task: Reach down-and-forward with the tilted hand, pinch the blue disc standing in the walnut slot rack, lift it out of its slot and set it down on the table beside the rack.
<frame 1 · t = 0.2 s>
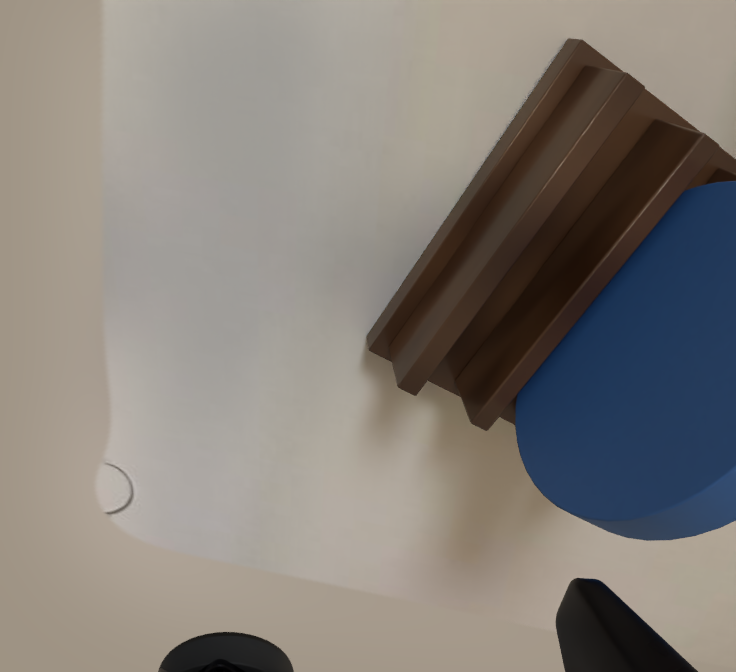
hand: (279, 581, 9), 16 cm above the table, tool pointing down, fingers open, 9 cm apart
rack: (573, 274, 25), on the table
disc: (585, 285, 24), point 1 cm above the table, touching rack
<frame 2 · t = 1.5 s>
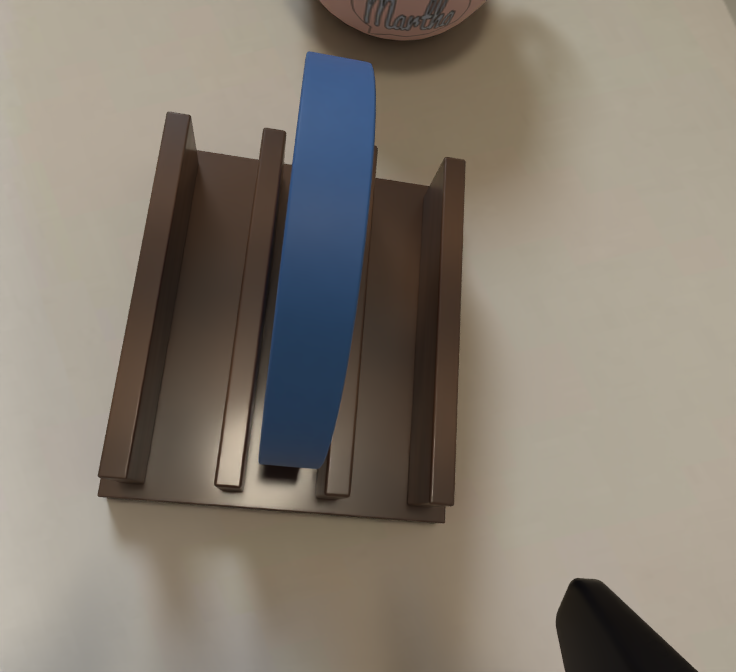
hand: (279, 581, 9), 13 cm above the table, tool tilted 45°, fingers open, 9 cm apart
rack: (296, 334, 24), on the table
disc: (298, 325, 23), point 1 cm above the table, touching rack
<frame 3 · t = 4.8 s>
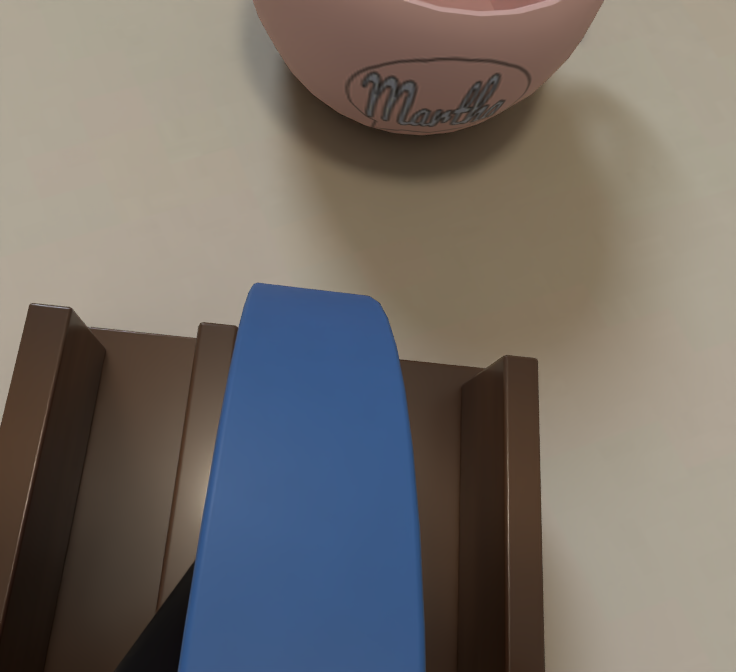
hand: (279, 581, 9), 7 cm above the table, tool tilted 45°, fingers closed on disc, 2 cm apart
mug: (423, 46, 21), on the table
rack: (263, 622, 15), on the table
disc: (264, 629, 14), point 1 cm above the table, touching gripper, rack
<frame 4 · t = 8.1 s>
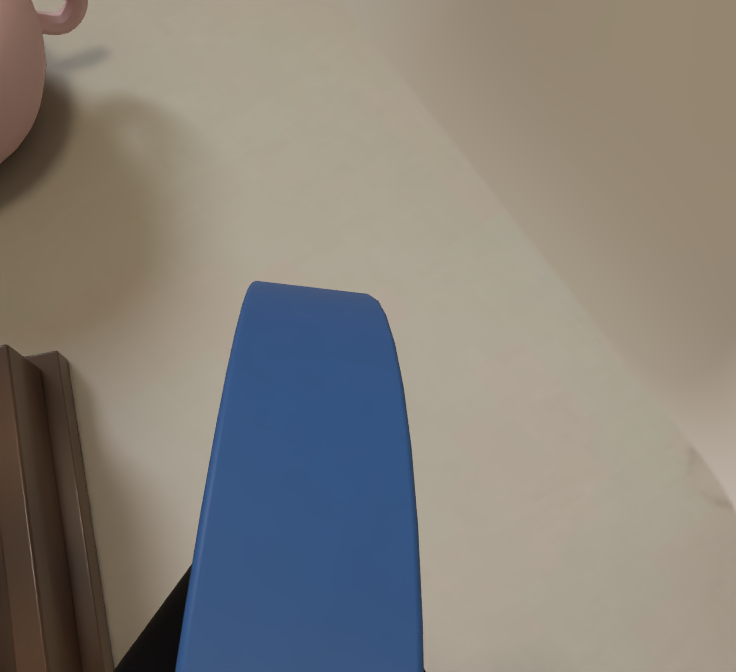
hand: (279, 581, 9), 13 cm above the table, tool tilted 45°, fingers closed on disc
disc: (263, 628, 14), point 8 cm above the table, touching gripper
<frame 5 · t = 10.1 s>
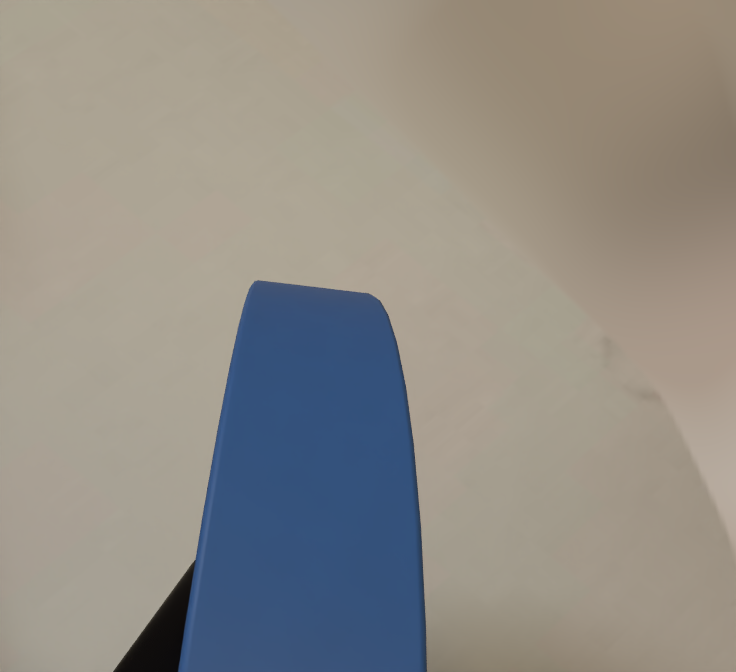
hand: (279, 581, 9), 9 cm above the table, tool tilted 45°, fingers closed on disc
disc: (264, 628, 14), point 4 cm above the table, touching gripper
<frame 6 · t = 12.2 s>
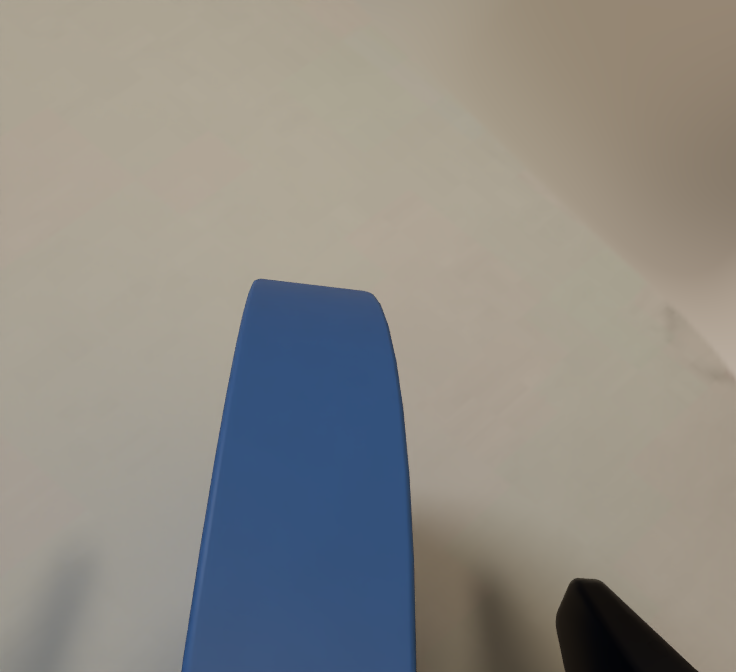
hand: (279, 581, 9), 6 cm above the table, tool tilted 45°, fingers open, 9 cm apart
disc: (263, 631, 14), on the table
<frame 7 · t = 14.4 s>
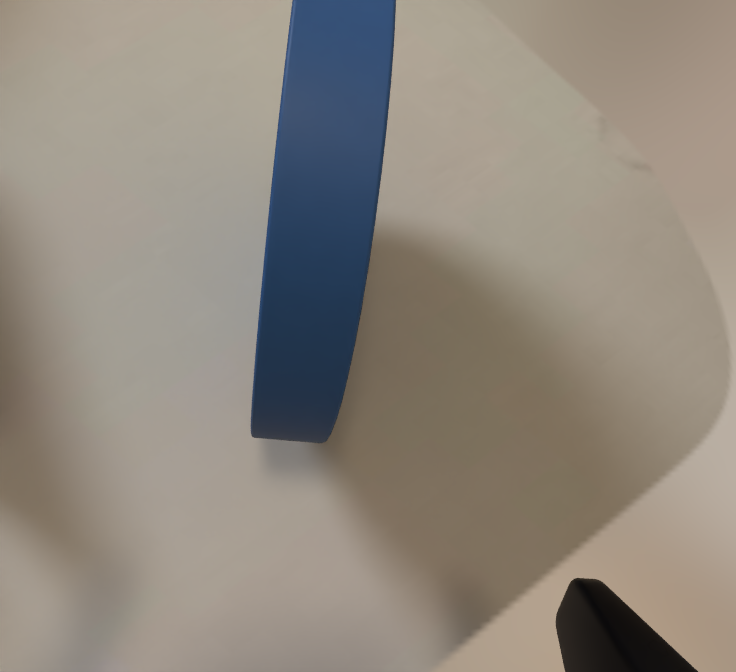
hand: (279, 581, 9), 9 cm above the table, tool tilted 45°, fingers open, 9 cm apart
disc: (295, 307, 20), on the table, tilted 7°
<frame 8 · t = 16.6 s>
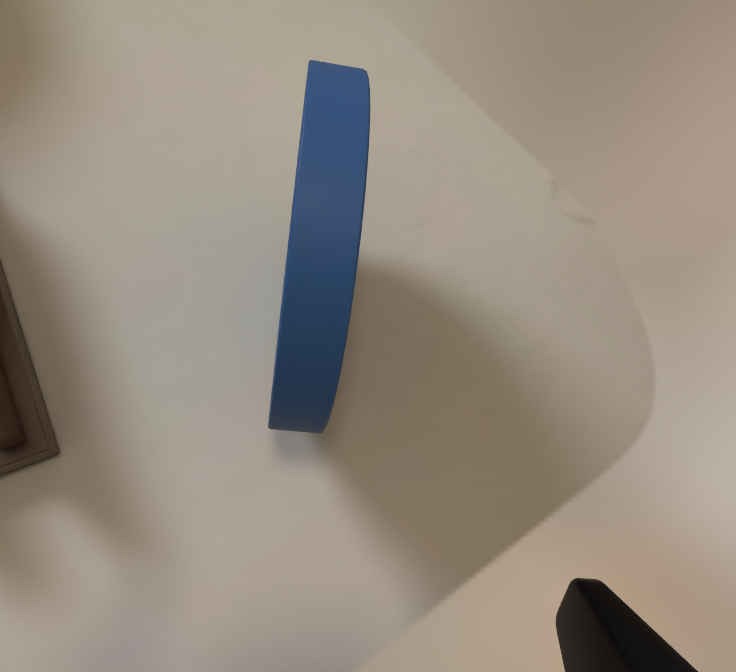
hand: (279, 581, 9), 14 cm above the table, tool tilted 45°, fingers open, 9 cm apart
disc: (298, 340, 24), on the table, tilted 13°
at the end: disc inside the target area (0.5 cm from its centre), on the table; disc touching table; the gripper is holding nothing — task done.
